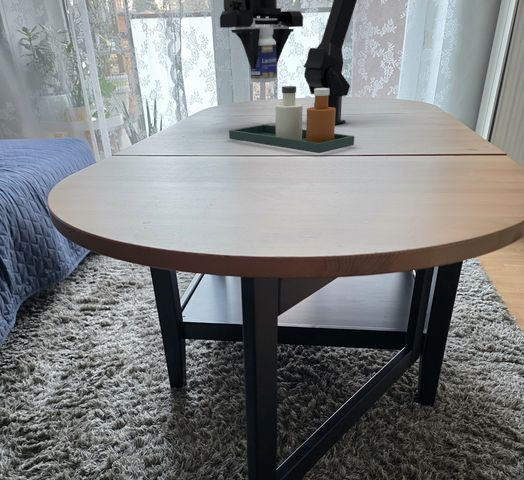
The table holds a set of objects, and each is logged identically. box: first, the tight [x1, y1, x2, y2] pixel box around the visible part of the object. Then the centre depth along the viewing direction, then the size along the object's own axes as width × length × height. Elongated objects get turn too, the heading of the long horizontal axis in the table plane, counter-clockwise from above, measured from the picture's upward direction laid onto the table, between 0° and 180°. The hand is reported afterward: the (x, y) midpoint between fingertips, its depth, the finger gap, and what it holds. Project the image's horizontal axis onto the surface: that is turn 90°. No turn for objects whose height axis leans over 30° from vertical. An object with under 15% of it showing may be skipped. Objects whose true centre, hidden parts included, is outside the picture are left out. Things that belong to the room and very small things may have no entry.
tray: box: [228, 123, 355, 154], centre depth 100 cm, size 10×24×2 cm, turn 44°
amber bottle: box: [305, 88, 336, 143], centre depth 93 cm, size 5×5×10 cm
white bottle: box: [274, 85, 304, 140], centre depth 98 cm, size 5×5×10 cm
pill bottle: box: [249, 26, 278, 83], centre depth 107 cm, size 6×6×10 cm
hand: (263, 67), depth 109 cm, fingers closed on pill bottle, 6 cm apart
